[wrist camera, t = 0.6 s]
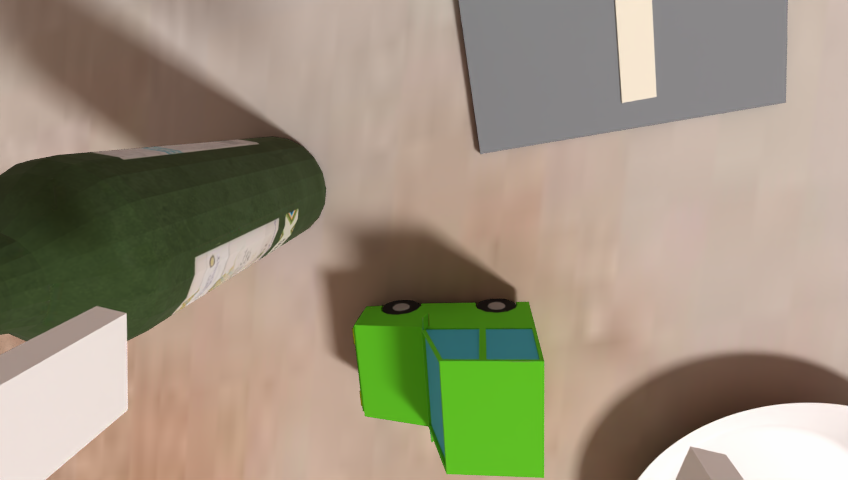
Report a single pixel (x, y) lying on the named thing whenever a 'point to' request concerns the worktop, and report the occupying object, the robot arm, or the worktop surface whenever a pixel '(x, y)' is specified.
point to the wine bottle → (145, 227)
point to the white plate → (769, 443)
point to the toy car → (458, 380)
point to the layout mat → (617, 64)
